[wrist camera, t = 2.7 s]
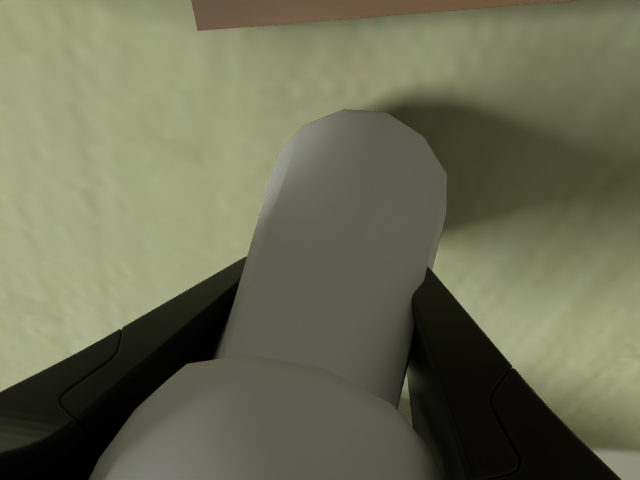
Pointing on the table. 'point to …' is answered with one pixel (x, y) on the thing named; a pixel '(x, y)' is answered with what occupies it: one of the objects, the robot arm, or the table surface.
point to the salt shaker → (310, 324)
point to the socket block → (323, 10)
